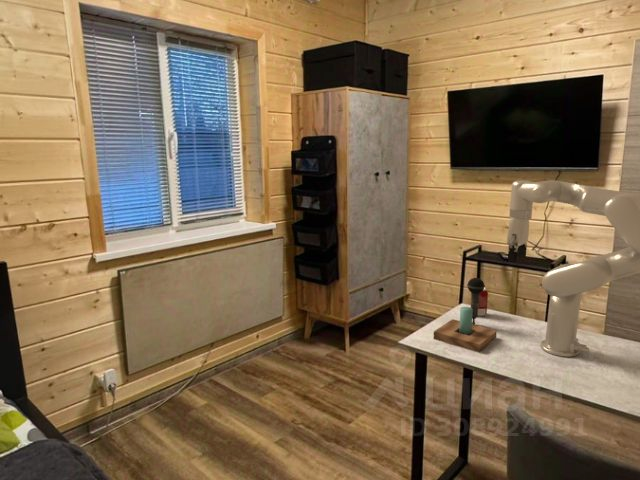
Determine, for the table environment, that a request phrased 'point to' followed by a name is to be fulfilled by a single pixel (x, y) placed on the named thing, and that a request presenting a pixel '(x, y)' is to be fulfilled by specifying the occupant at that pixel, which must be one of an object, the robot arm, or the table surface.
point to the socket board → (465, 336)
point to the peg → (465, 320)
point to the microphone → (475, 295)
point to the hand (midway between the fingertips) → (516, 259)
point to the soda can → (483, 303)
